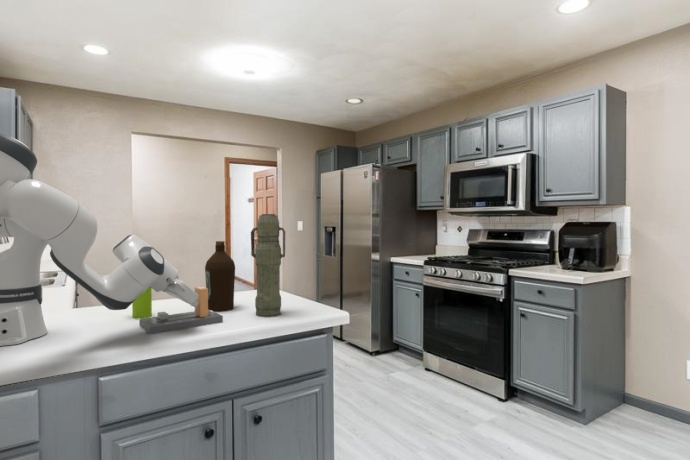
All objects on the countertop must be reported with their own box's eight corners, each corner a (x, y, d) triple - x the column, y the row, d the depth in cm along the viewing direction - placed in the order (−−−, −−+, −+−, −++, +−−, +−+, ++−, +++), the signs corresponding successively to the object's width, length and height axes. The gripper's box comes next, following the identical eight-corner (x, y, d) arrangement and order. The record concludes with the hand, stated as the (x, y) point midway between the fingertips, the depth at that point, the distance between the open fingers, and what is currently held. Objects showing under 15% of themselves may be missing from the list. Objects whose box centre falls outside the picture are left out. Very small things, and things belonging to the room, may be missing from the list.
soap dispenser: (146, 318, 138) (146, 258, 137) (128, 317, 139) (127, 258, 139) (158, 314, 144) (157, 257, 143) (140, 313, 145) (139, 256, 144)
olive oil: (234, 305, 160) (233, 240, 159) (236, 311, 150) (236, 241, 149) (205, 306, 156) (204, 240, 156) (205, 313, 146) (205, 242, 146)
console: (149, 333, 120) (149, 321, 120) (139, 325, 130) (139, 313, 129) (222, 322, 134) (222, 310, 134) (208, 315, 143) (208, 304, 143)
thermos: (251, 311, 149) (251, 214, 148) (285, 310, 151) (285, 214, 150) (249, 317, 140) (249, 213, 139) (285, 316, 142) (285, 214, 141)
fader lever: (200, 317, 131) (200, 288, 131) (194, 314, 135) (194, 286, 135) (208, 316, 133) (207, 288, 132) (202, 313, 136) (202, 286, 136)
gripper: (181, 272, 119) (215, 302, 126) (161, 266, 135) (192, 292, 141) (165, 290, 116) (200, 319, 123) (146, 281, 132) (178, 307, 139)
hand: (195, 305), depth 132 cm, fingers closed, pressing on fader lever
